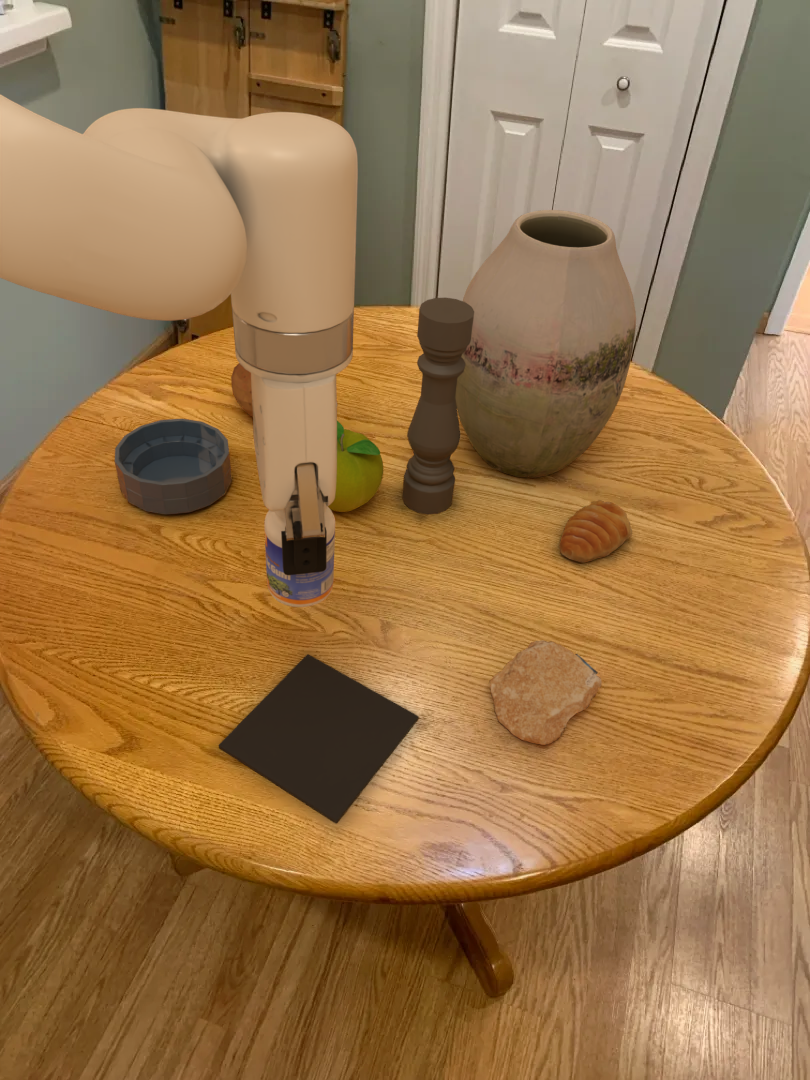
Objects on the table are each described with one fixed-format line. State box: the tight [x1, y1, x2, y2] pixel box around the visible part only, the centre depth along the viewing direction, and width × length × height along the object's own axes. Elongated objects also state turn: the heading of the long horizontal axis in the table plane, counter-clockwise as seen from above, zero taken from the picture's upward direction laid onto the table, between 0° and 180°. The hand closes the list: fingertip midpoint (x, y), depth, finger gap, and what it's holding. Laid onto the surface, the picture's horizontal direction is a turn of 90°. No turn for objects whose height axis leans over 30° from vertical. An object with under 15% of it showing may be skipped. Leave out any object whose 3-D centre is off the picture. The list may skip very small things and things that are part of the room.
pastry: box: [559, 499, 633, 563], centre depth 98 cm, size 9×7×4 cm
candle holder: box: [401, 297, 474, 515], centre depth 95 cm, size 6×6×25 cm
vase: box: [455, 209, 637, 479], centre depth 102 cm, size 21×21×30 cm
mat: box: [218, 653, 419, 825], centre depth 77 cm, size 13×13×1 cm
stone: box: [489, 639, 603, 746], centre depth 80 cm, size 8×10×4 cm
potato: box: [230, 362, 253, 418], centre depth 112 cm, size 8×14×8 cm
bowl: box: [114, 418, 233, 515], centre depth 101 cm, size 13×13×5 cm
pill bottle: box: [263, 490, 336, 608], centre depth 66 cm, size 5×5×10 cm
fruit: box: [328, 420, 384, 513], centre depth 99 cm, size 9×9×10 cm
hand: (299, 541), depth 65 cm, fingers closed on pill bottle, 5 cm apart
